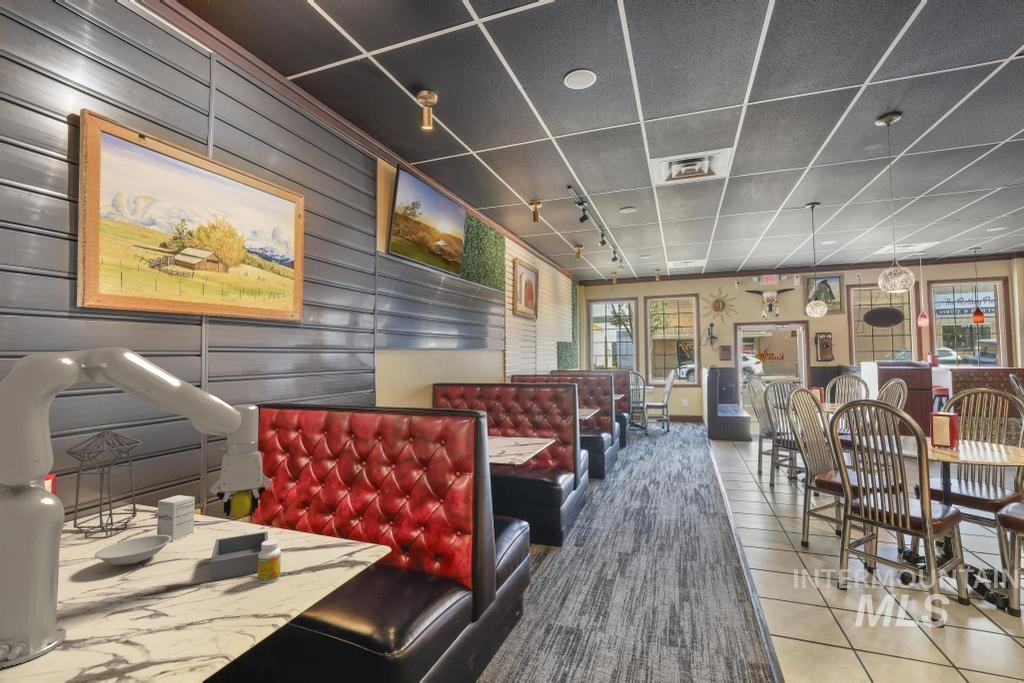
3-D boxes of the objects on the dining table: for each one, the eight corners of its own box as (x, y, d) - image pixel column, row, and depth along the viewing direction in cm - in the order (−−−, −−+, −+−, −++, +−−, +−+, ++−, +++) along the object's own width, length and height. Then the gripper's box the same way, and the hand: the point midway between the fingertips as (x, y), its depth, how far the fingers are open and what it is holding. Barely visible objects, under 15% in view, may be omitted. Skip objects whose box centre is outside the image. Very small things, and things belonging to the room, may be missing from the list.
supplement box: (155, 539, 149) (157, 500, 149) (178, 531, 156) (179, 494, 156) (172, 542, 147) (173, 502, 147) (194, 533, 154) (195, 496, 154)
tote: (267, 569, 127) (268, 551, 127) (209, 581, 120) (210, 562, 120) (267, 547, 142) (267, 531, 142) (215, 556, 136) (216, 539, 136)
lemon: (241, 521, 125) (242, 492, 125) (224, 520, 126) (225, 491, 126) (256, 515, 130) (257, 487, 130) (240, 514, 131) (241, 486, 132)
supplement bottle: (254, 585, 118) (255, 547, 118) (260, 575, 123) (261, 539, 124) (277, 582, 119) (278, 544, 120) (282, 573, 125) (283, 537, 125)
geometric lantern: (107, 543, 146) (107, 433, 147) (59, 543, 146) (60, 434, 148) (147, 524, 162) (148, 426, 163) (104, 525, 162) (105, 427, 163)
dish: (158, 547, 142) (158, 531, 143) (181, 557, 135) (182, 540, 136) (84, 569, 127) (85, 551, 127) (106, 581, 120) (107, 562, 120)
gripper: (204, 453, 121) (202, 522, 121) (276, 447, 130) (275, 512, 129) (207, 449, 128) (206, 514, 127) (276, 443, 136) (275, 504, 135)
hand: (241, 512), depth 128 cm, fingers closed on lemon, 5 cm apart
